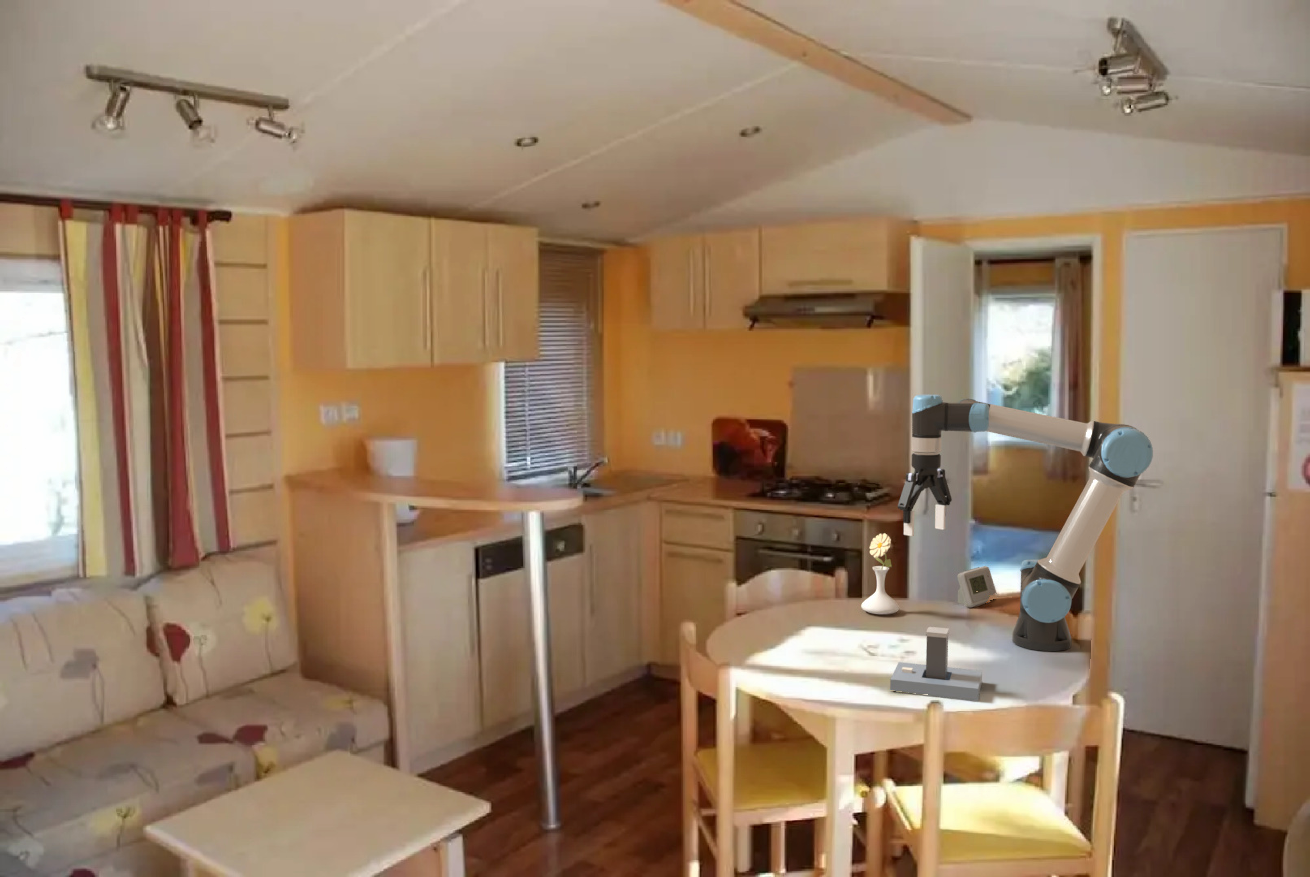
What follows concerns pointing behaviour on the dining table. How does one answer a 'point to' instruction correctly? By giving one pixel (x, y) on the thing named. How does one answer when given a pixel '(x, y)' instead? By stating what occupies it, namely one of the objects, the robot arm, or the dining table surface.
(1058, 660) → the dining table surface
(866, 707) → the dining table surface
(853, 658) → the dining table surface
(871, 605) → the flower in vase
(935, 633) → the plug
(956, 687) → the socket plate
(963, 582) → the digital clock
